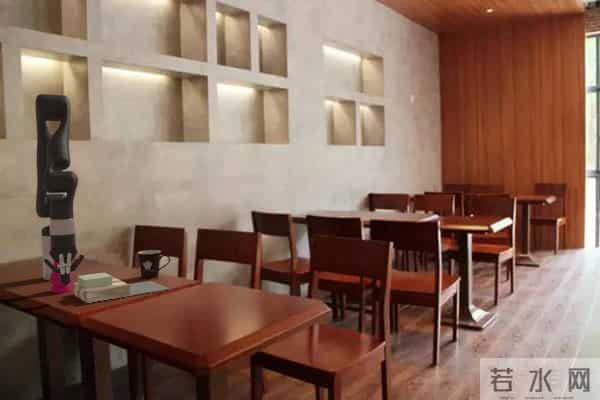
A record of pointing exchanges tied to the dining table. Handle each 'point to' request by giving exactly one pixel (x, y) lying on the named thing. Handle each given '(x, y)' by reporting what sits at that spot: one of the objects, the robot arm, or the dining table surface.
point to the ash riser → (102, 291)
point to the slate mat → (145, 288)
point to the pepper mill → (58, 282)
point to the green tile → (94, 280)
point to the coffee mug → (150, 263)
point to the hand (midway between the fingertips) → (65, 284)
